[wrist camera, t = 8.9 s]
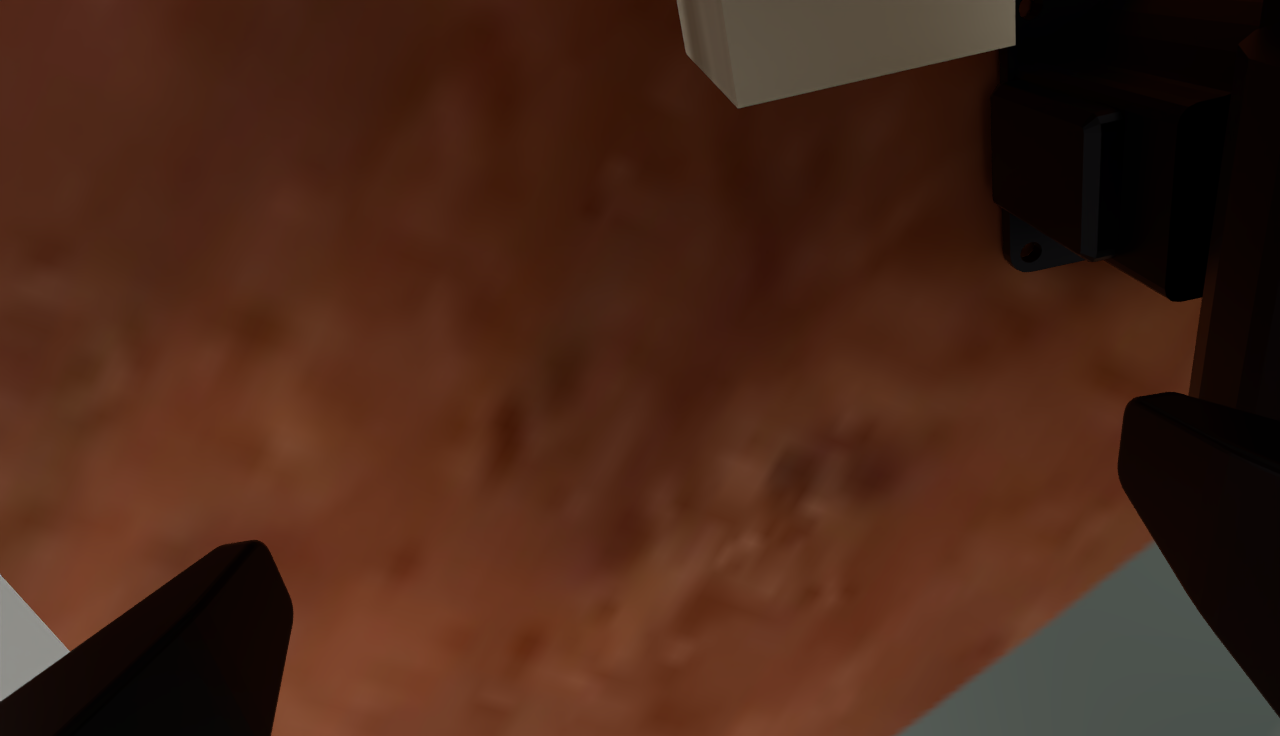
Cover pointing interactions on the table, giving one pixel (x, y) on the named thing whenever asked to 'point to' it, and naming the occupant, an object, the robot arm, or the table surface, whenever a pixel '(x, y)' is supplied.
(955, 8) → the batten
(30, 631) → the crown molding
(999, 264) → the table surface
